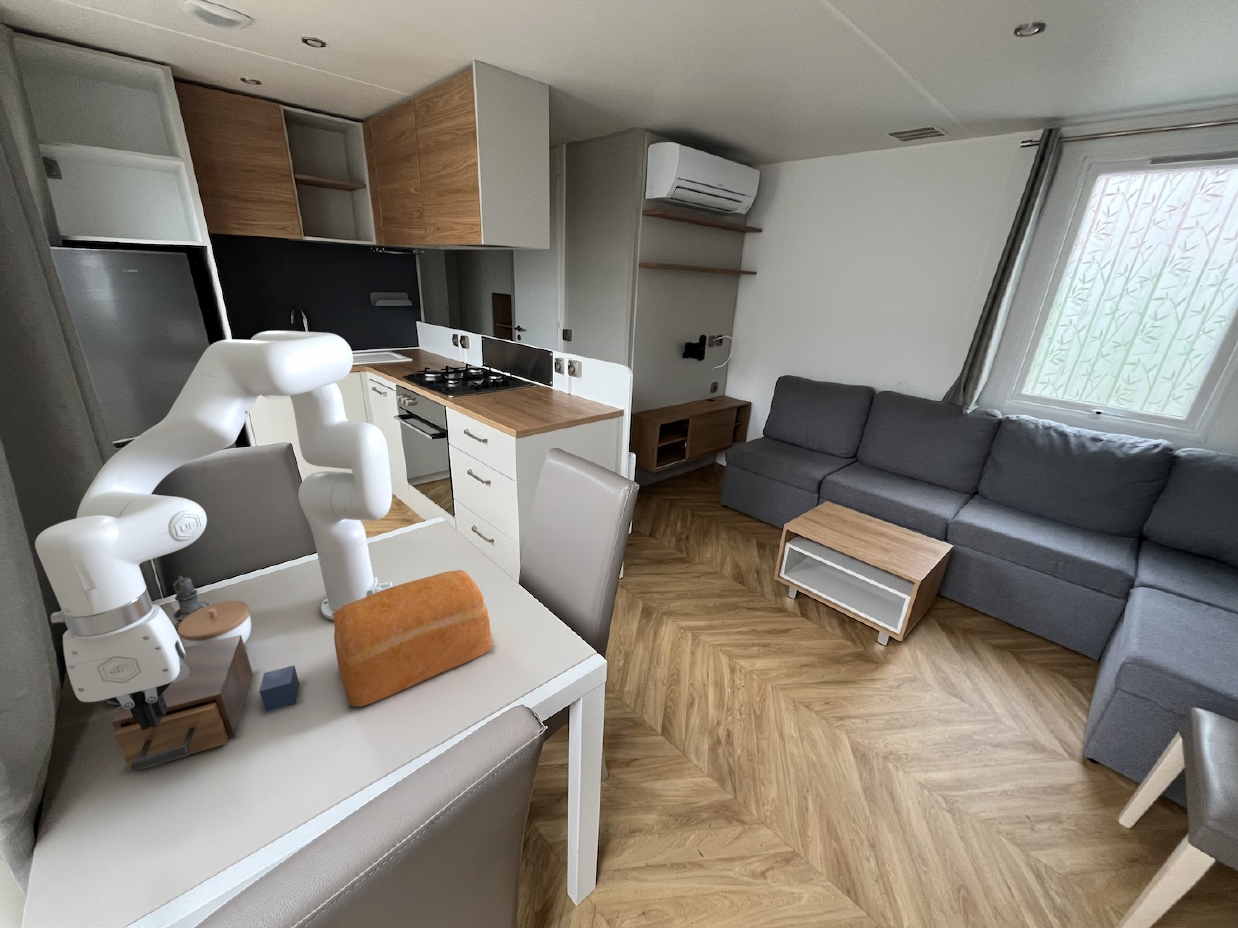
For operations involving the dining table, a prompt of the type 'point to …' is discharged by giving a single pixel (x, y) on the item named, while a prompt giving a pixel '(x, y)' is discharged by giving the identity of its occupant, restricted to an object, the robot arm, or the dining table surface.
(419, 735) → the dining table surface
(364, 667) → the bread
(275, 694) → the block
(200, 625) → the trinket box
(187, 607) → the grey tall ridged piece
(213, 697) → the cabinet
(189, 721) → the drawer
